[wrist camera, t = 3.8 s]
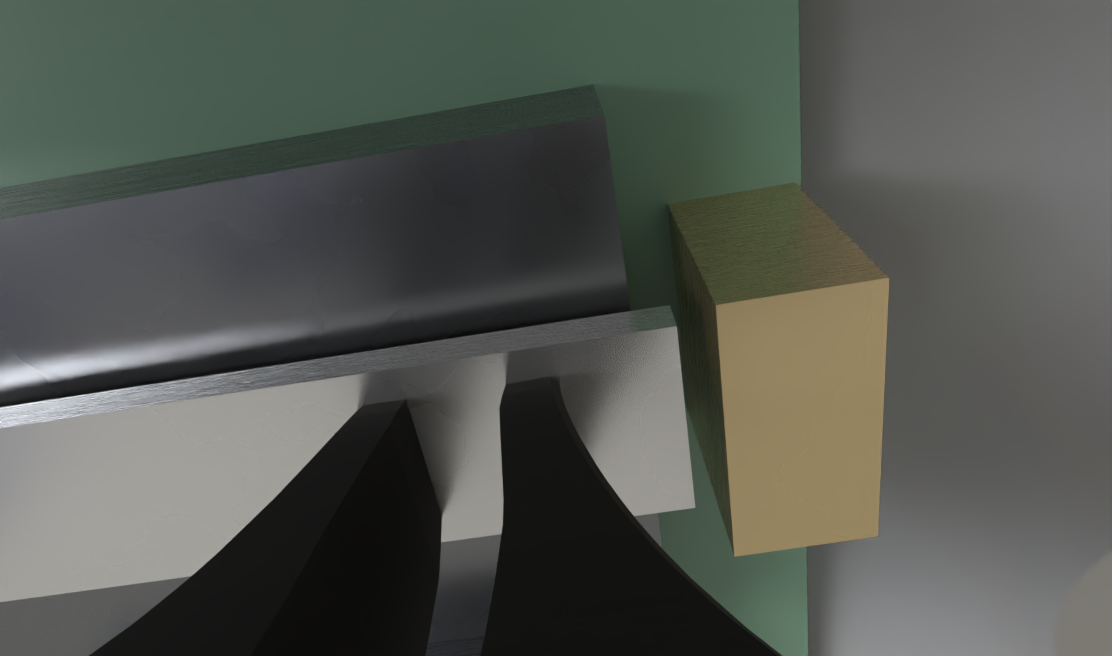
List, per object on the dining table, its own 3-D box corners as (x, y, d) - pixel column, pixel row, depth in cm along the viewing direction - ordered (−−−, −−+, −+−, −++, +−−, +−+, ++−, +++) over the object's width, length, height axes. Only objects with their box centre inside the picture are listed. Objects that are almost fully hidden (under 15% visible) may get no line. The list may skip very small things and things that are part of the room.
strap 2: (-77, 582, 13) (-114, 622, 12) (-191, 433, 11) (-241, 468, 10) (687, 476, 12) (696, 512, 11) (668, 301, 10) (678, 329, 10)
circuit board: (234, 957, 25) (223, 996, 24) (-435, 41, 12) (-515, 51, 11) (801, 890, 24) (811, 927, 23) (774, -191, 11) (795, -199, 10)
